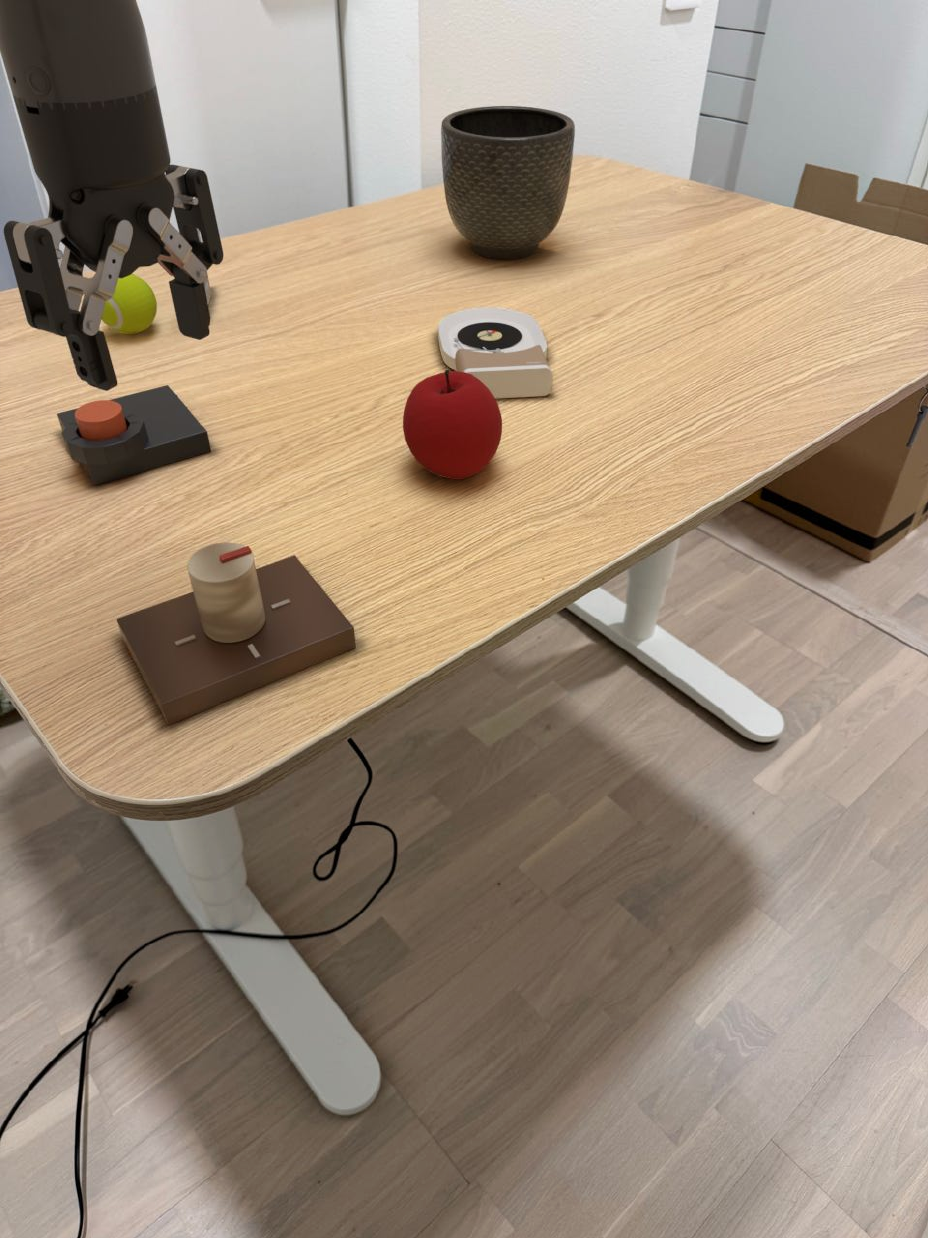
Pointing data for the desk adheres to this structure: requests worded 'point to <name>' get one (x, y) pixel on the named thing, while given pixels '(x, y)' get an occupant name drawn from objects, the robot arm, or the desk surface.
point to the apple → (452, 424)
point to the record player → (497, 350)
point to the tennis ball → (130, 306)
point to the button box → (138, 437)
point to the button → (100, 420)
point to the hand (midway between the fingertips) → (150, 360)
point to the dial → (227, 591)
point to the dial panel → (215, 671)
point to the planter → (506, 176)
